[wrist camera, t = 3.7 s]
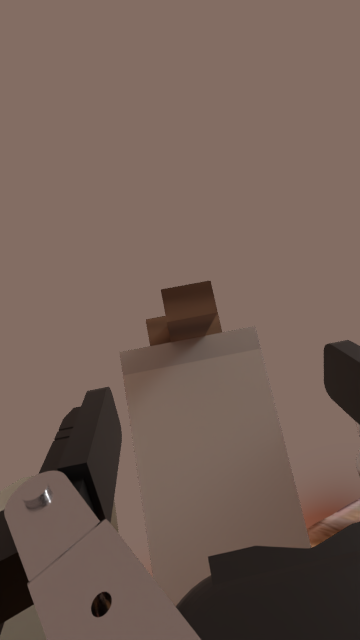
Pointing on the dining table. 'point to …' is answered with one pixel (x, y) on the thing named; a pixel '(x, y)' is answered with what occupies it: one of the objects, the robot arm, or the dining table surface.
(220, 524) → the cream stand
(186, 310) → the walnut paddle
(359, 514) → the dining table surface
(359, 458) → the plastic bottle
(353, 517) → the dining table surface
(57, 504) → the robot arm
